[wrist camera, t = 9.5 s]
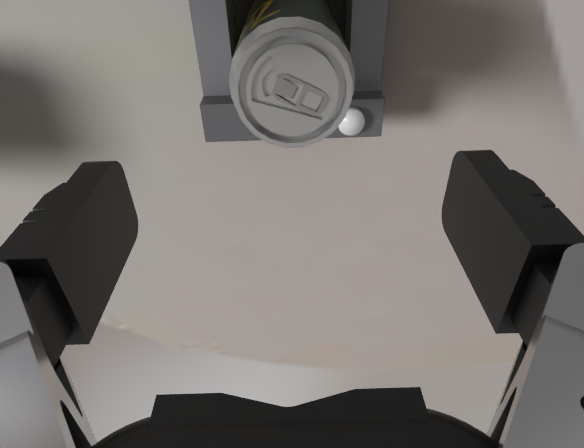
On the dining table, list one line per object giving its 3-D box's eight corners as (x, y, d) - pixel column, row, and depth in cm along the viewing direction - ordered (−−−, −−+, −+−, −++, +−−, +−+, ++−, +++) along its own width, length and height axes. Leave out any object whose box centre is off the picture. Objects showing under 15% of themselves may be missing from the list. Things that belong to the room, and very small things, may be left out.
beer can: (347, 4, 26) (384, 59, 17) (309, 84, 29) (321, 170, 19) (267, -38, 25) (255, -6, 15) (235, 49, 28) (208, 124, 18)
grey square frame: (215, 114, 30) (204, 146, 26) (188, -74, 24) (168, -71, 20) (369, 109, 30) (382, 140, 26) (385, -82, 24) (405, -80, 20)
